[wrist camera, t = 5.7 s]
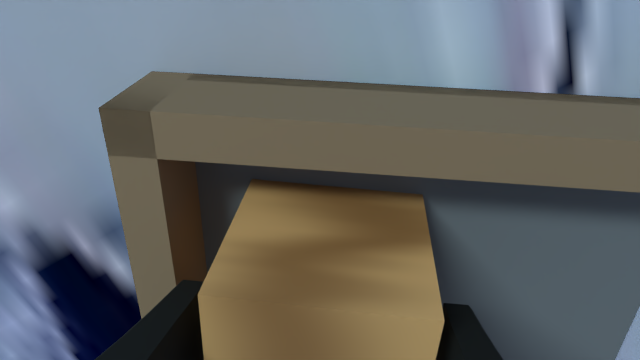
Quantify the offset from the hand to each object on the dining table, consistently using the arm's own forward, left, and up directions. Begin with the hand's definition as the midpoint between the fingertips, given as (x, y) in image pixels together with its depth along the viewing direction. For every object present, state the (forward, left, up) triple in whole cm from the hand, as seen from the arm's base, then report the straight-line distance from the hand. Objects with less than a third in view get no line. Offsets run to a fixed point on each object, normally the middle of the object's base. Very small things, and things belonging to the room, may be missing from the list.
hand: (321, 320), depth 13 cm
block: (0, 0, -3) cm, 3 cm away
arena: (-2, +2, -4) cm, 5 cm away
